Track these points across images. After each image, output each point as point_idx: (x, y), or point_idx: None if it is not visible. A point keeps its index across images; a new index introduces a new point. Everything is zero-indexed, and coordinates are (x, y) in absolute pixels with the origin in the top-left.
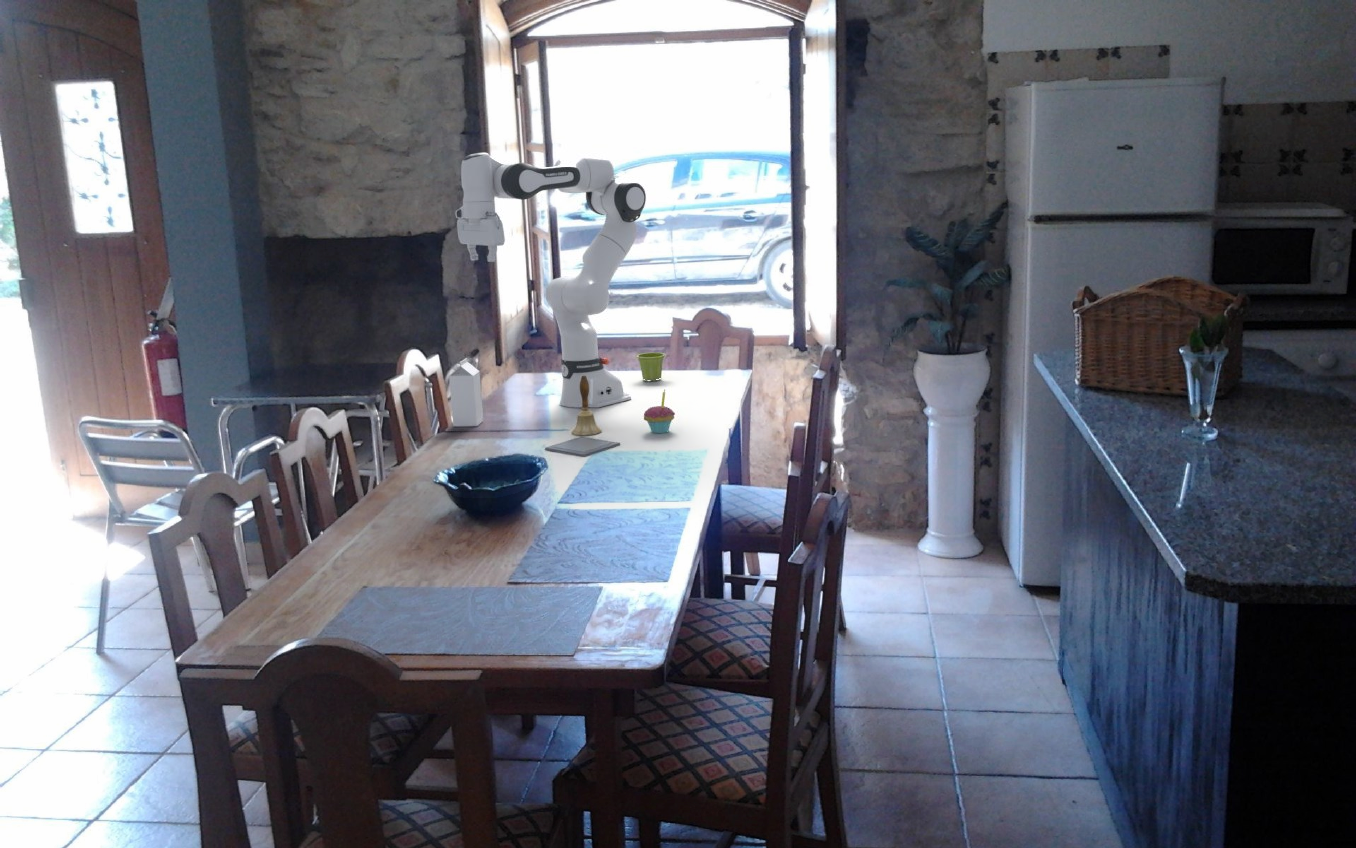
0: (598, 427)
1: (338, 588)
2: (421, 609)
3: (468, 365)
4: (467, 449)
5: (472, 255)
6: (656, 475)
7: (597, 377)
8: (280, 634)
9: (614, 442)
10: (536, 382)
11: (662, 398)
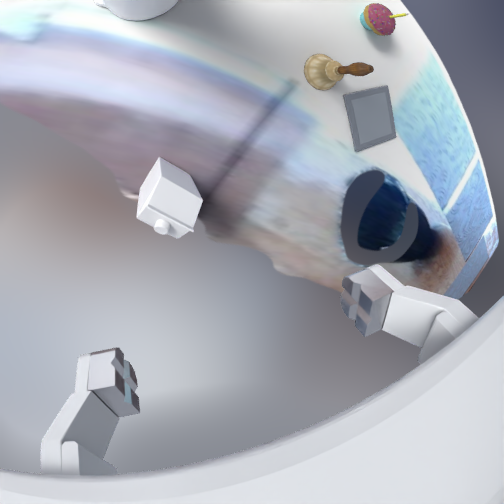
0: (330, 59)
1: None
2: (456, 288)
3: (165, 203)
4: (297, 218)
5: (136, 405)
6: (449, 130)
7: None
8: None
9: (384, 88)
10: None
11: (399, 16)
